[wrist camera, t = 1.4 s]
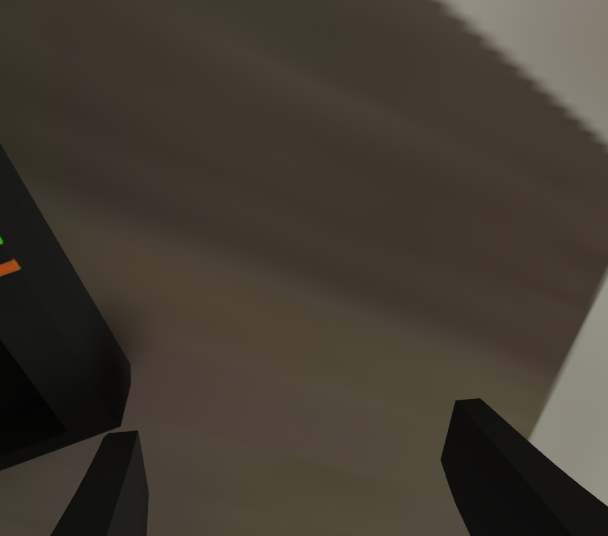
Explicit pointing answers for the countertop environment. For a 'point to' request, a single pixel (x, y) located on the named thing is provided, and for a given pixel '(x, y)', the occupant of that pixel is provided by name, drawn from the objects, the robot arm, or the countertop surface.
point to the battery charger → (49, 339)
